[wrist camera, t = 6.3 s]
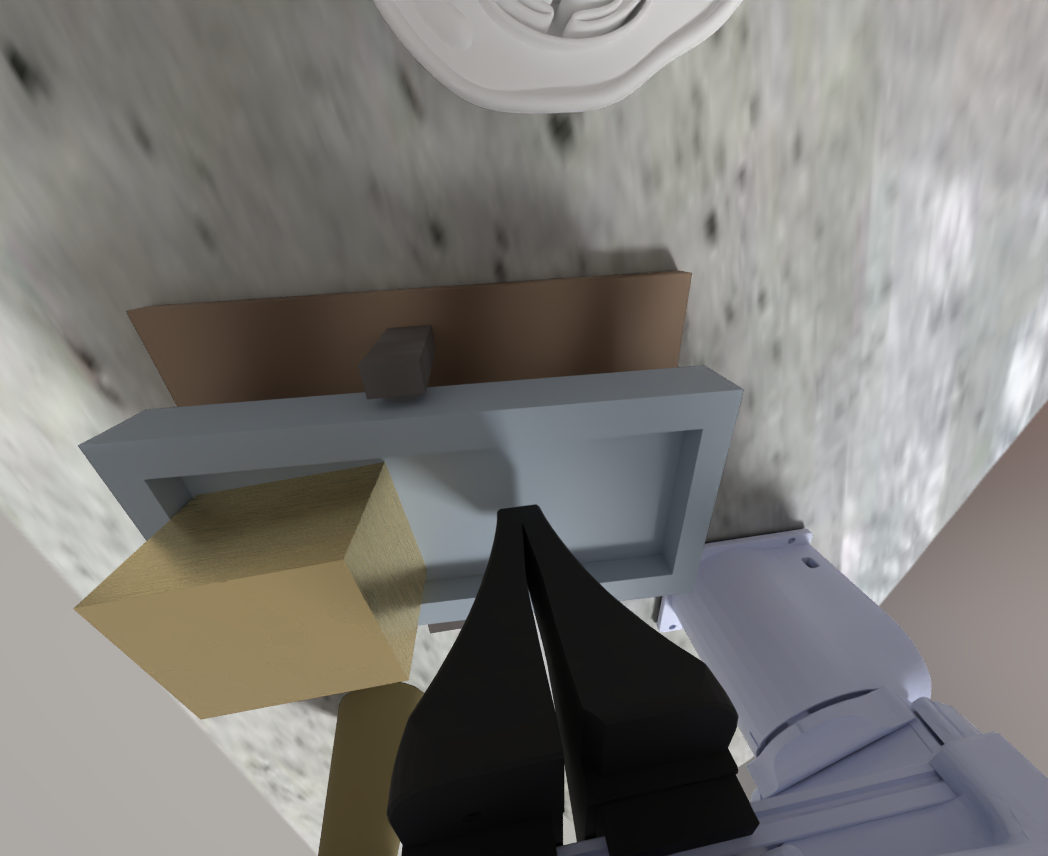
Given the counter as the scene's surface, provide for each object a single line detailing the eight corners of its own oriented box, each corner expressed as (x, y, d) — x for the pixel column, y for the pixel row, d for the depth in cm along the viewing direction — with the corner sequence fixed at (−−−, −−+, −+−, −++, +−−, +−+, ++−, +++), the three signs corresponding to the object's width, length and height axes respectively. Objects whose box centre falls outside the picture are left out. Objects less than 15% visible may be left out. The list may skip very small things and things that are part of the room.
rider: (384, 462, 12) (343, 559, 8) (427, 569, 14) (408, 679, 11) (196, 495, 12) (73, 609, 8) (271, 597, 14) (200, 719, 11)
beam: (705, 356, 12) (746, 379, 11) (667, 555, 17) (690, 597, 15) (141, 400, 11) (70, 435, 9) (259, 601, 16) (227, 653, 14)
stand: (678, 270, 15) (776, 287, 10) (642, 526, 22) (692, 607, 17) (148, 306, 13) (-30, 346, 8) (286, 577, 20) (230, 685, 15)
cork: (319, 710, 26) (233, 996, 16) (384, 670, 25) (333, 950, 15) (383, 736, 28) (342, 993, 19) (444, 702, 27) (433, 955, 18)
